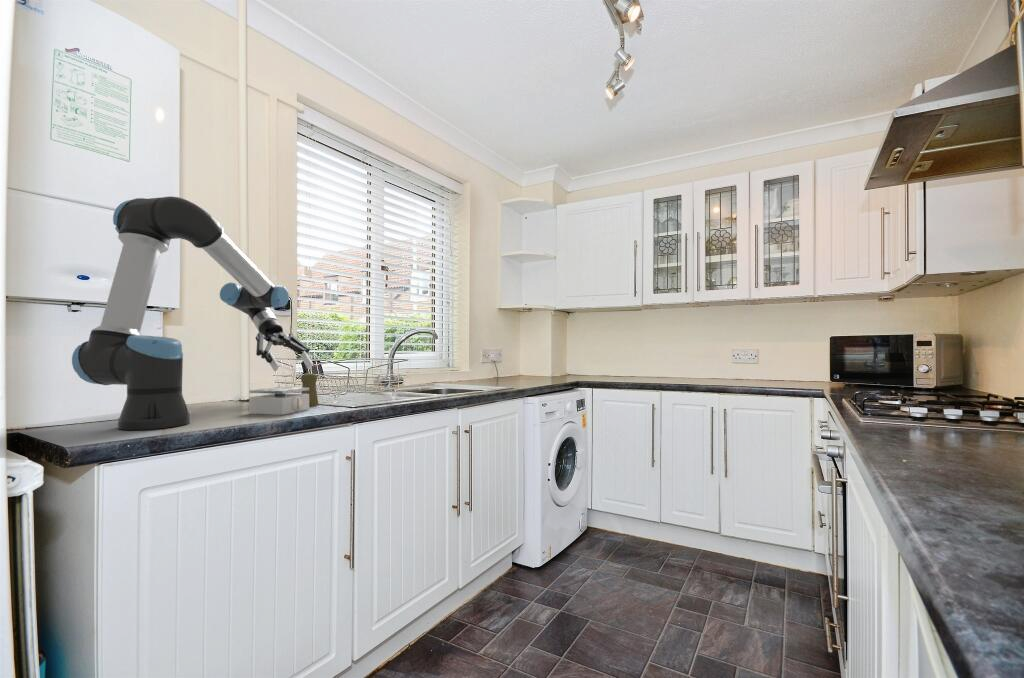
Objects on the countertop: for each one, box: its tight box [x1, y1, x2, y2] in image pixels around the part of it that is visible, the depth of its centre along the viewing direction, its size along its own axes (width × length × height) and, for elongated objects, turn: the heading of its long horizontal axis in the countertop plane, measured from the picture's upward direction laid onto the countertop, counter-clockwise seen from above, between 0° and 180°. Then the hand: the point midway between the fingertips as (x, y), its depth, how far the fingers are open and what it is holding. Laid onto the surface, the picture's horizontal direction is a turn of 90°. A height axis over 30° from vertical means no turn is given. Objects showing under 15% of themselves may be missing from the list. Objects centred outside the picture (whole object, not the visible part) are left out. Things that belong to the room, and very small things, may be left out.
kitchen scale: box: [248, 392, 310, 416], centre depth 152 cm, size 12×13×6 cm
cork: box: [300, 372, 319, 407], centre depth 167 cm, size 6×6×11 cm
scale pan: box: [248, 386, 309, 395], centre depth 153 cm, size 12×12×1 cm
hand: (294, 367), depth 172 cm, fingers open, 13 cm apart
